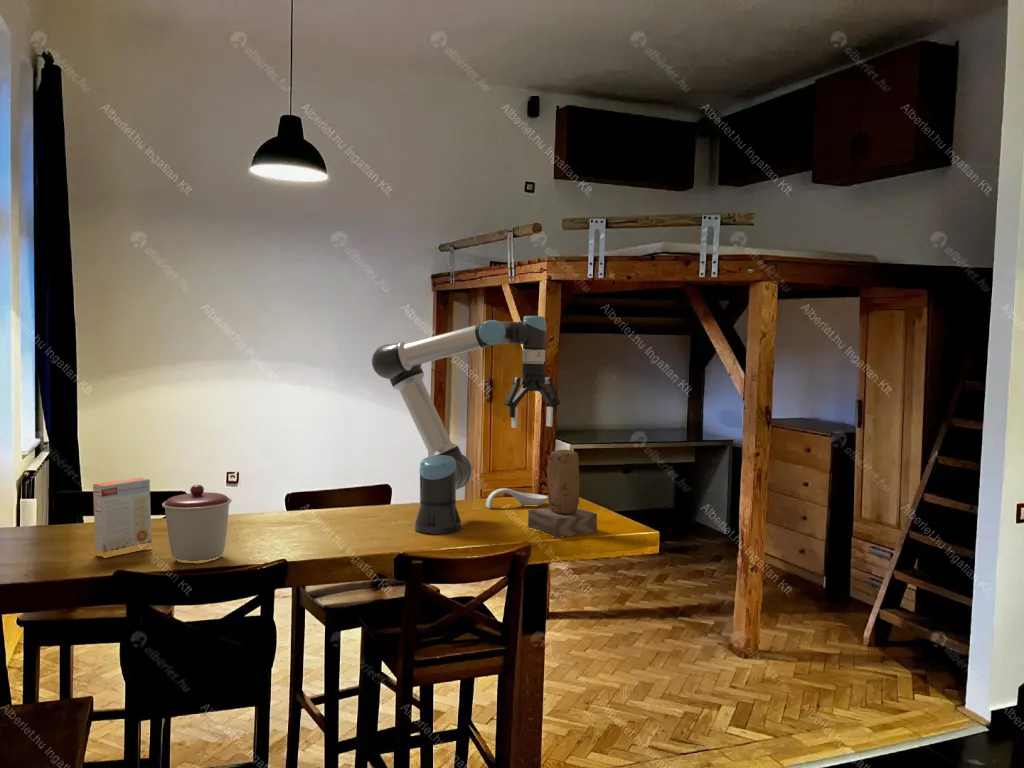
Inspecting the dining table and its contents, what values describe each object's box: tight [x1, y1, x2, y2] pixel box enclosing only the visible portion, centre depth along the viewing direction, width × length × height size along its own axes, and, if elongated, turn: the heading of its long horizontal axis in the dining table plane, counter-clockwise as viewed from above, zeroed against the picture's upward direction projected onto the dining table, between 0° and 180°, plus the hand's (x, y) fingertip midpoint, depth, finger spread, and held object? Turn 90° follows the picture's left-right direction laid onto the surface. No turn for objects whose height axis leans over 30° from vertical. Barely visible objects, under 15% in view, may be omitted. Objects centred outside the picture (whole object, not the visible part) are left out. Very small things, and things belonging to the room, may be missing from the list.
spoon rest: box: [485, 487, 548, 510], centre depth 302 cm, size 24×12×7 cm, turn 110°
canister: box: [161, 484, 232, 561], centre depth 226 cm, size 18×18×21 cm
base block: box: [527, 507, 598, 538], centre depth 263 cm, size 16×16×6 cm
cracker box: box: [92, 477, 152, 553], centre depth 233 cm, size 14×6×21 cm, turn 141°
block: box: [546, 449, 580, 514], centre depth 262 cm, size 11×8×20 cm
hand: (532, 427), depth 268 cm, fingers open, 13 cm apart
